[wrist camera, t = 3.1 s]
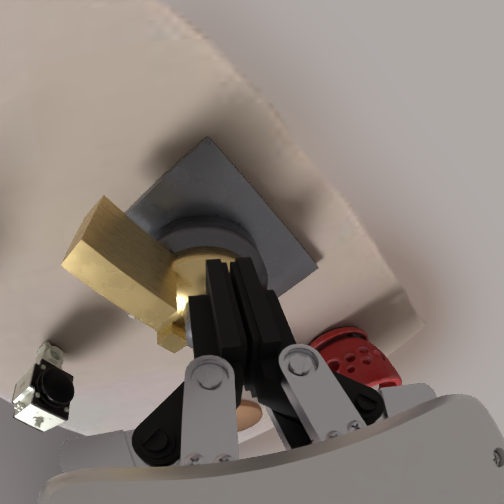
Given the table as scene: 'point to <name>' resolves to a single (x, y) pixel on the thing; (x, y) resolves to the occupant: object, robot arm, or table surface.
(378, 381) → the plant pot
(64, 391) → the pneumatic valve
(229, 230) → the housing
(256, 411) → the lidded jar
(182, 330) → the gold slotted fixture
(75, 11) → the table surface
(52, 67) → the table surface
